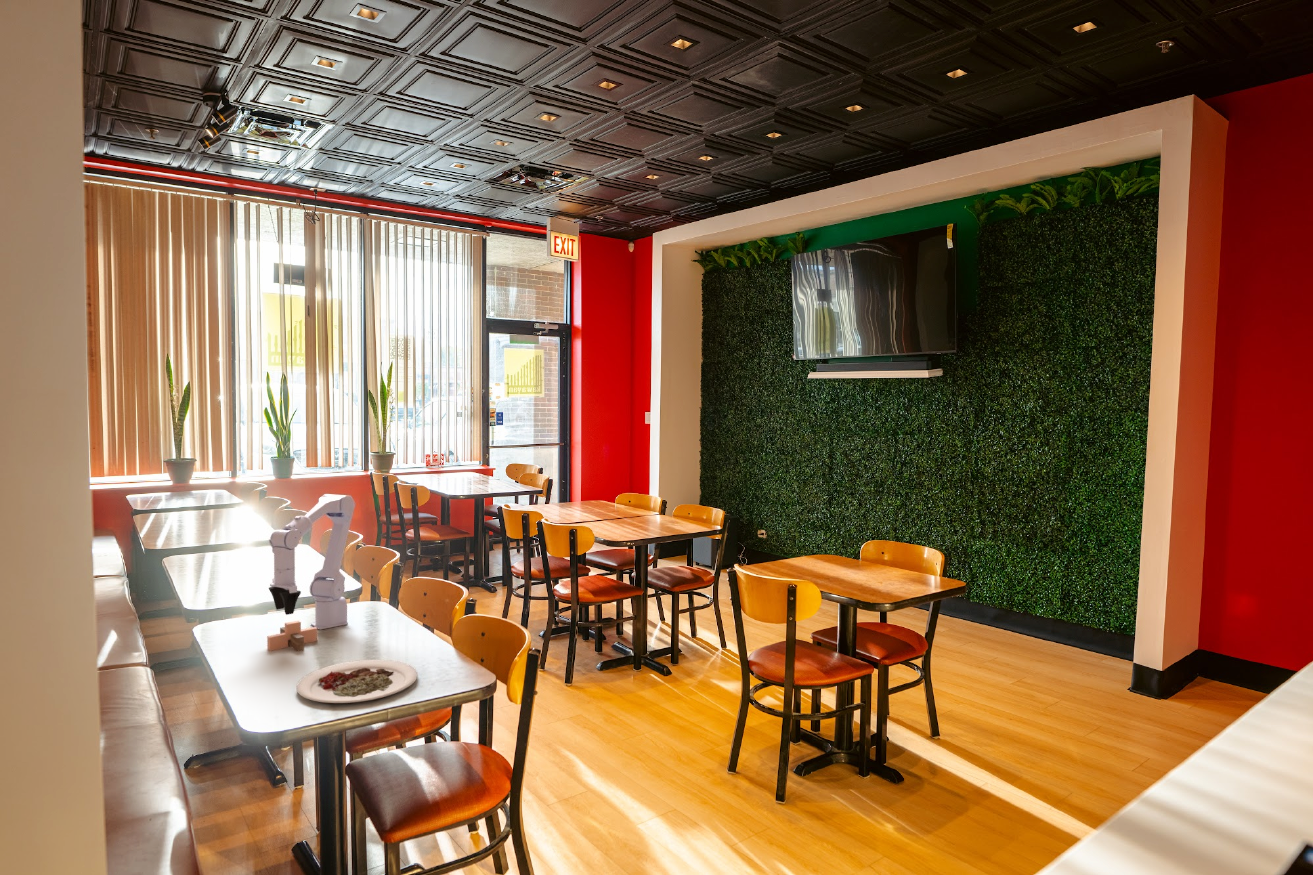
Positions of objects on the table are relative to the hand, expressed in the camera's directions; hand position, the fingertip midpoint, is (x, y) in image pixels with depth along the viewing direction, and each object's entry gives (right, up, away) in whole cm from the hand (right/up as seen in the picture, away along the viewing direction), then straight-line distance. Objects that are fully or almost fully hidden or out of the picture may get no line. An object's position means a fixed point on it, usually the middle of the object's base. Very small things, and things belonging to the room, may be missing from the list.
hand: (284, 611), depth 231 cm
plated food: (+36, -13, -32) cm, 50 cm away
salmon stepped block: (+3, -10, -1) cm, 11 cm away
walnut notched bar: (+3, -10, -2) cm, 11 cm away
